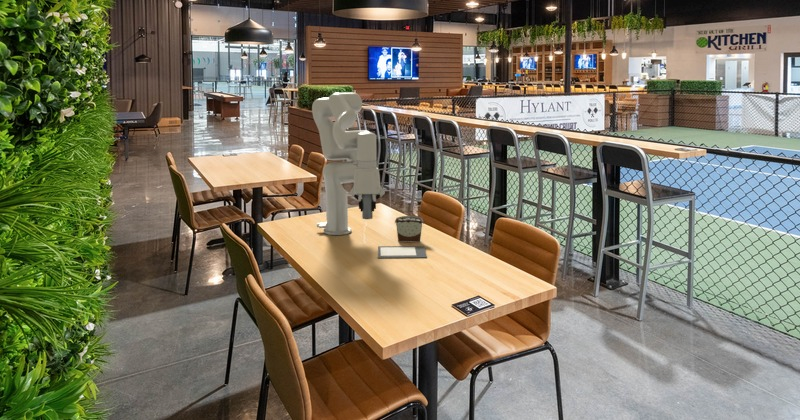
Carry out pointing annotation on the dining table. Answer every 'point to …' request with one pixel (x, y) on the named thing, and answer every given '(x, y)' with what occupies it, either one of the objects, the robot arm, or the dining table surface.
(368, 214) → the marker
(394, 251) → the mat
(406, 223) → the food container
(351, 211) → the dining table surface
